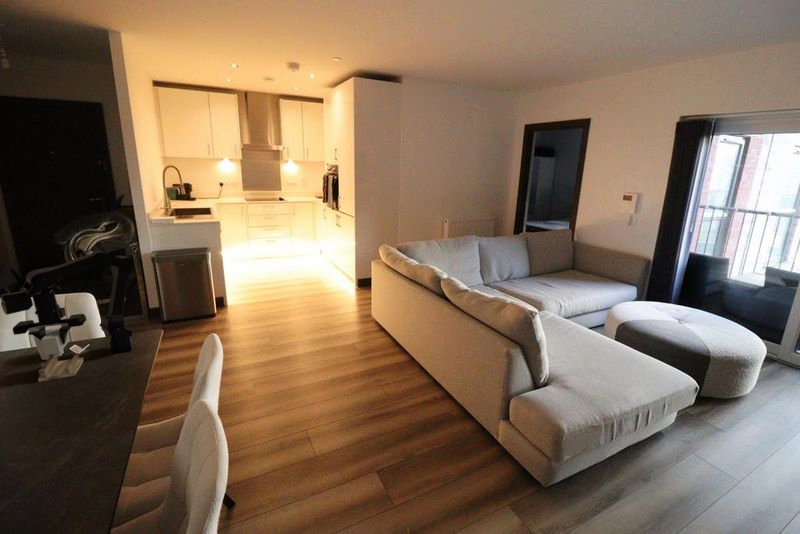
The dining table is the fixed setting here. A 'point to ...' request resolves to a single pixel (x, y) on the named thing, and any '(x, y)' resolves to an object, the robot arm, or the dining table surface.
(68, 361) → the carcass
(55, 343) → the light grey block
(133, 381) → the dining table surface
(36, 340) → the white cup
